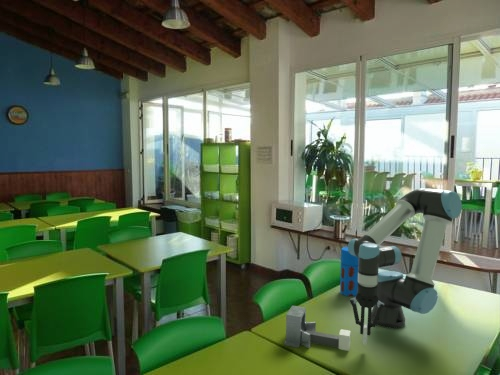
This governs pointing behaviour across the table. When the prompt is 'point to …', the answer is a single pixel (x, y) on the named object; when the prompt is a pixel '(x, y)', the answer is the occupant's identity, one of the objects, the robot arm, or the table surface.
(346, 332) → the plug
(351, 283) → the thermos
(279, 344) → the table surface
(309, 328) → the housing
